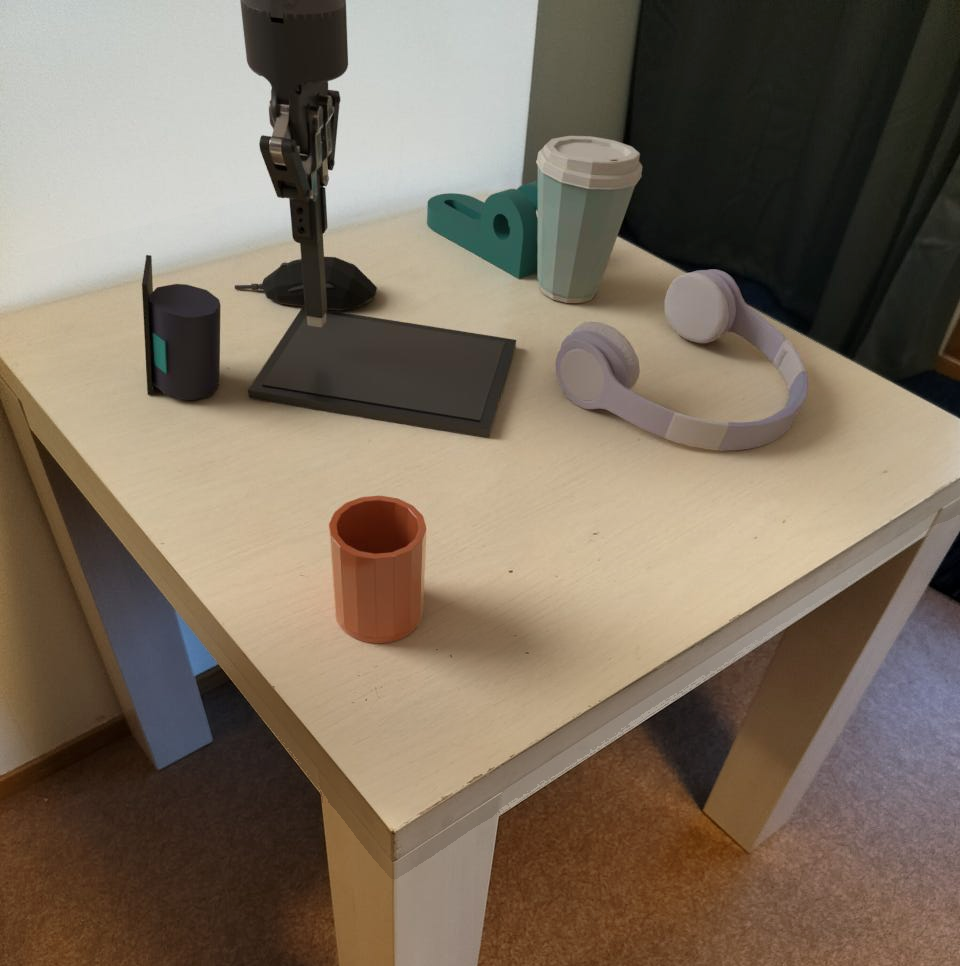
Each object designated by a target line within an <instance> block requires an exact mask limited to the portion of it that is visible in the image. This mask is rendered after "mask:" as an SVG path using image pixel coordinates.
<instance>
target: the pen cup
mask: <svg viewBox="0 0 960 966" xmlns="http://www.w3.org/2000/svg"><path fill="white" fill-rule="evenodd" d="M424 517H425V516H424V515H423V514H422V513H421V512H420V511H419V510H418V509H417V508H416V507H415V505H413V504H411V503H408V502H406V501H405V500H403V499H400V498H397V497H392V496H386V495H369V496H368V495H367V496H361V497H357V498H355V499H352V500H350V501H347V502H345V503H344V504H342V506H340V507H339V508H338V509H336V510H335V511H334V512H333V514H332V517H331V519H330V521H329V523H328V532H329V535H328V536H329V546H330V559H331V560H330V561H331V563H330V564H331V574H332V575H331V576H332V590H333V592H332V593H333V605H334V612H335V613H334V614H335V618H336V621H337V624H338V625H339V628H341V629H342V631H344V633H346V634H347V635H349V636H350V637H352V638H353V639H356V640H358V641H361V642H365V643H369V644H388V643H394V642H396V641H400V640H403V639H404V638H406V637H408V636H409V635H411V634H412V633H413V632H414V631H415V630H416V629H417V628H418V627H419V625H420V623H421V621H422V619H423V616H424V615H423V613H424V607H425V606H424V605H425V582H426V581H425V580H426V553H427V551H426V550H427V549H426V548H427V525H426V521H425V518H424Z"/></svg>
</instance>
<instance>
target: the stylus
mask: <svg viewBox="0 0 960 966" xmlns="http://www.w3.org/2000/svg"><path fill="white" fill-rule="evenodd" d="M305 174H306V172H305ZM316 174H317V190H318V195H317V198H318V213H319V228H320V239H319V241H318V242H317V244H316V245H308V244H302V243H299V247H300V259H301V261H302V274H303V287H304V300H305V312H306V316H307V321H308V325H309V326H315V327H321V328H322V327H323V325H324V324H325V322H326V311H327V310H328V309H327V297H326V280H325V263H324V257H325V248H324V247H325V246H324V234H323V229H322V212H321V195H320V178H319V173H316Z"/></svg>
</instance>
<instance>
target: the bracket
mask: <svg viewBox="0 0 960 966" xmlns="http://www.w3.org/2000/svg"><path fill="white" fill-rule="evenodd" d="M426 209H427V210H426V212H427V213H426V225H427V227H428V228H429V229H430V230H431V231H433V232H435V233H437V234H438V235H440V236H442V237H444V238H445V239H447V240H448V241H451V242H453V243H454V244H456V245H458V246H460V247H462V248H464V250H467V251H469V252H470V253H472V254H474V255H476V256H477V257H479V258H481V259H482V260H485V261H486V262H488V263H490V264H491V265H493V266H495V267H496V268H499V269H501V270H502V271H504V272H506V273H508V274H509V275H511V276H513V277H515V278H516V279H518V280H520V279H522V278H525V277H527V276H530V275H533V274H536V273H538V214H537V213H538V180H535V181H532V182H529V183H526V184H523V185H520V186H518V187H517V188H509V189H505V190H501V191H498V192H495V193H492V194H490V195H489V196H487V198H486V199H485V200H484V201H482V200H480V199H478V198H476V197H473V196H471V195H467V194H462V193H455V192H454V193H453V192H452V193H450V192H449V193H440V194H435V195H433V196H432V197H430V198H429V199H428V200H427V207H426Z"/></svg>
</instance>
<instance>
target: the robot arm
mask: <svg viewBox="0 0 960 966" xmlns="http://www.w3.org/2000/svg"><path fill="white" fill-rule="evenodd" d="M239 1H240V11H241V12H240V13H241V19H242V31H243V38H244V48H245V57H246V64H247V65H248V67H249V69H250V70H251V71H252V72H253V73H254V74H256V75H257V76H259V77H263V78H264V79H265V80H266V81H268V83H269V84H270V87H271V90H270V100H269V103H268V118H269V124H270V126H271V127H272V130H273V131H272V134H271V136H269V135H263V134H262V135H261V136H260V138H259V141H258V142H259V144H258V145H259V146H258V147H259V151H260V154H261V157H262V159H263V161H264V165H265V168H266V170H267V173H268V175H269V178H270V181H271V184H272V186H273V189H274V192H275V194H276V197H277V198H280V199H289V201H288V202H289V211H290V225H291V234H292V239H293V241H294V242H296V243H297V244H300V243H302V244H308V245H316V244H317V242H318V241H319V239H320V228H319V213H318V198H317V195H318V190H317V174H316V173H319V178H320V195H321V212H322V229H323V235H324V234H325V233H326V231H327V229H328V228H329V227H328V212H327V192H326V187H327V186H328V184H329V181H330V175H329V171H333V170H334V167H335V163H336V161H335V159H336V158H335V156H336V148H337V136H338V125H339V114H340V113H339V112H340V103H341V94H340V91H339V90H334V89H329V82H330V81H334V80H336V79H338V78H340V77H341V76H343V75H345V73H346V72H347V70H348V67H349V48H348V47H349V46H348V21H347V19H348V17H347V0H239ZM305 172H306V174H305Z"/></svg>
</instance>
